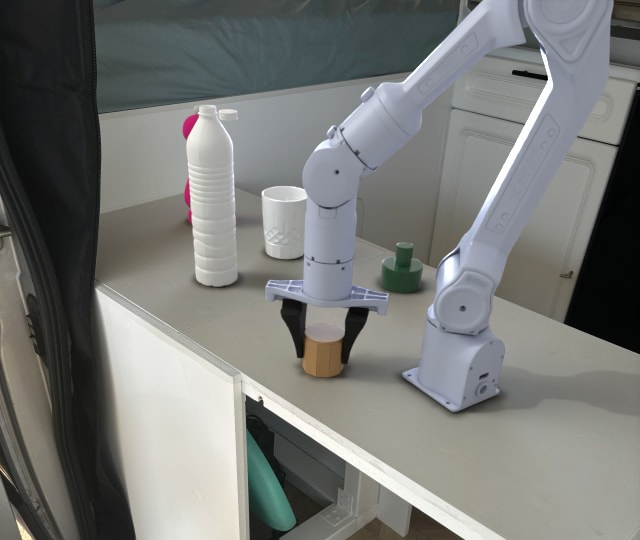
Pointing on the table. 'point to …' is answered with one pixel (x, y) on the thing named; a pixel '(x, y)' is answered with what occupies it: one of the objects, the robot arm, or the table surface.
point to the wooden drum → (323, 349)
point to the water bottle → (212, 197)
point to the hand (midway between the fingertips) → (323, 357)
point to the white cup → (284, 221)
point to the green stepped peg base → (401, 270)
